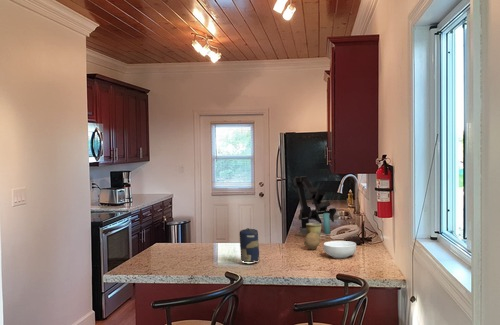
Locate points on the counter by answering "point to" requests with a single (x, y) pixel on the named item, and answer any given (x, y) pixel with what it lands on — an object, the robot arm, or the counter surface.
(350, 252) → the cereal bowl
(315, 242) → the natural sponge
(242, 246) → the canister
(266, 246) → the counter surface
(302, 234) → the walnut base
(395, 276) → the counter surface
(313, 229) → the ceramic cup
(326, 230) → the teal post
